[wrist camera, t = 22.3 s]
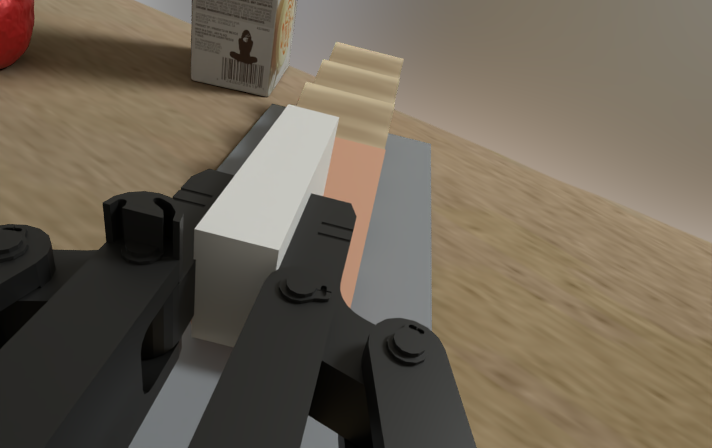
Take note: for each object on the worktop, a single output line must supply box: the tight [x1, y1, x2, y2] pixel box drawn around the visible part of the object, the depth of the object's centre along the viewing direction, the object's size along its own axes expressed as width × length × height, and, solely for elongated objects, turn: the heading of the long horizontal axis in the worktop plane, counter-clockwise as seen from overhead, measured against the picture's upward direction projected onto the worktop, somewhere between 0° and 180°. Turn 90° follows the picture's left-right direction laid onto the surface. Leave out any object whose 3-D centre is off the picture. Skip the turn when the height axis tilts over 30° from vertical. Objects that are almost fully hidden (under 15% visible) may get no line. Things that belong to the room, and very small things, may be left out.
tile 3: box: [313, 59, 400, 104], centre depth 28 cm, size 2×5×10 cm
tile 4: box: [329, 42, 404, 78], centre depth 32 cm, size 2×5×10 cm
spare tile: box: [191, 137, 386, 325], centre depth 19 cm, size 2×5×10 cm
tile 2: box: [296, 82, 395, 149], centre depth 24 cm, size 2×5×10 cm
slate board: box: [128, 104, 432, 448], centre depth 24 cm, size 12×28×1 cm, turn 173°
